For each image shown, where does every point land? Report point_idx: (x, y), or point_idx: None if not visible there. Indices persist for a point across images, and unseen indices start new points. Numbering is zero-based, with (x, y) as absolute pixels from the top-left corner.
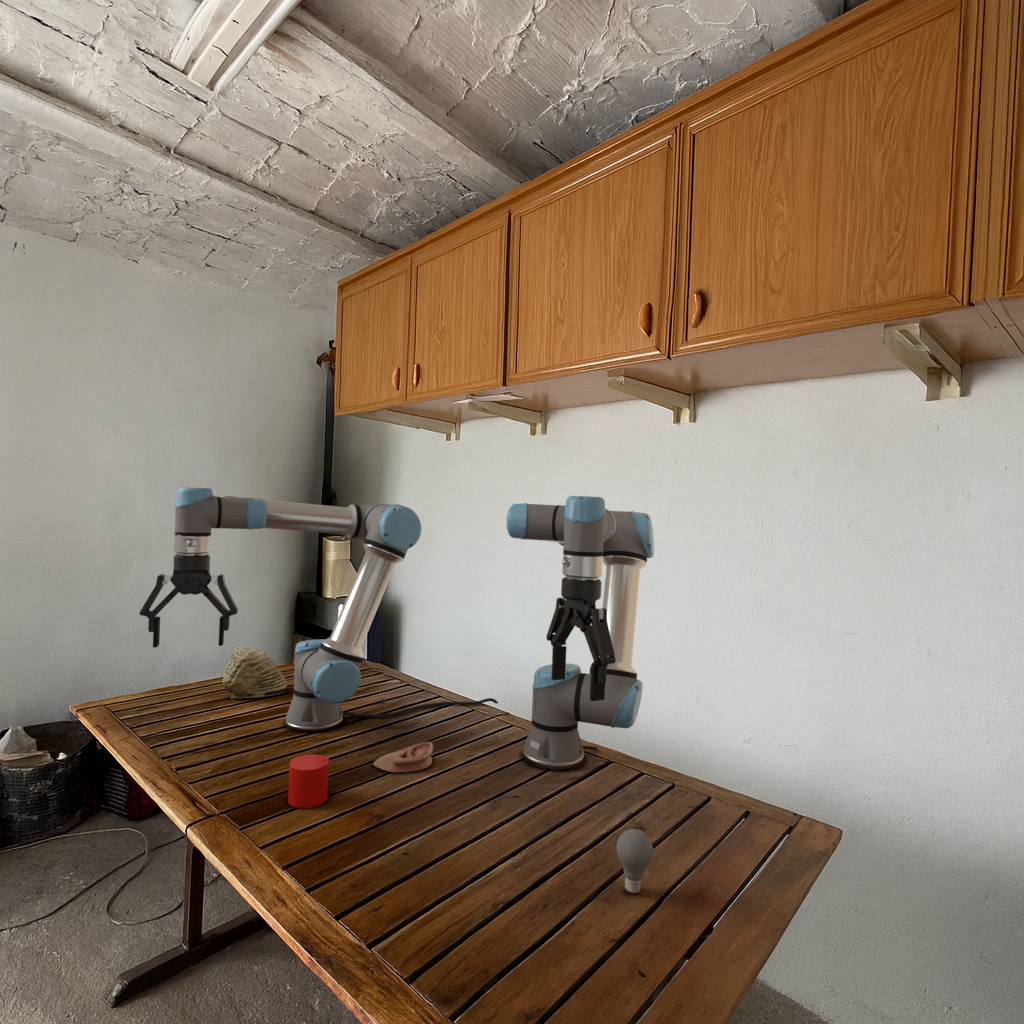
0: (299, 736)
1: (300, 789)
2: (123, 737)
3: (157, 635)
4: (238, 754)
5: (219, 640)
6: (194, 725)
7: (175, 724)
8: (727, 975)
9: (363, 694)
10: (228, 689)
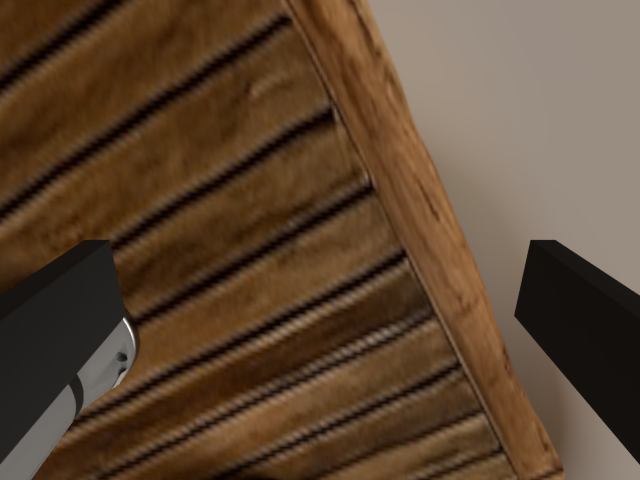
0: None
1: None
2: (468, 319)
3: (579, 297)
4: (208, 177)
5: (80, 255)
6: (335, 359)
7: (374, 370)
8: None
9: None
10: None
